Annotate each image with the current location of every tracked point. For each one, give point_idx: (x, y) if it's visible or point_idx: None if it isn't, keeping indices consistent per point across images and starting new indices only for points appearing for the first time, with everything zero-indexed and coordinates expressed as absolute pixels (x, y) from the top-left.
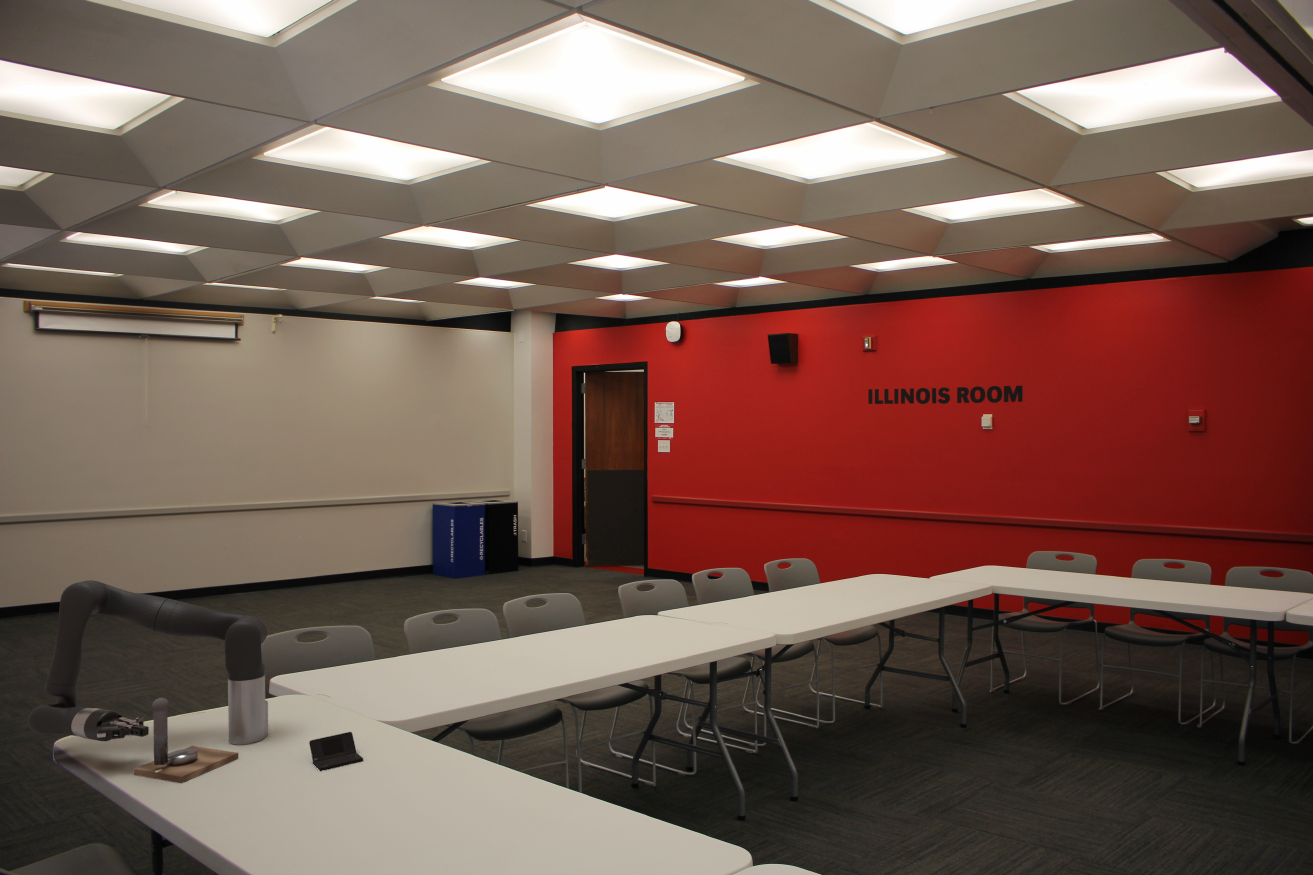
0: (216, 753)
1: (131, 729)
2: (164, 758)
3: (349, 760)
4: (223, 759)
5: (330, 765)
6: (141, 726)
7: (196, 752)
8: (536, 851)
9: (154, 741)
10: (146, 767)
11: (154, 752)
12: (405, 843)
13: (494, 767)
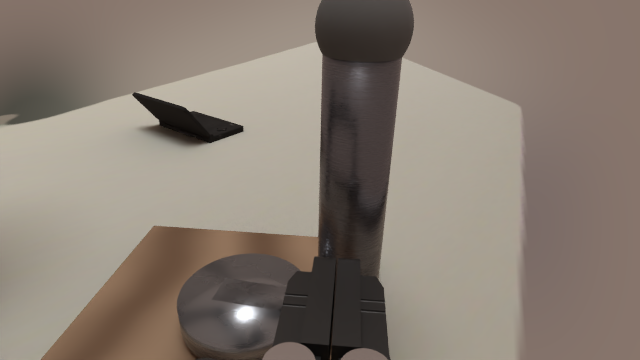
0: (154, 269)
1: (388, 348)
2: None
3: (205, 115)
4: (214, 231)
5: (229, 122)
6: (330, 288)
7: (227, 258)
8: None
9: (383, 229)
10: None
11: (378, 277)
12: (401, 72)
13: (219, 69)
